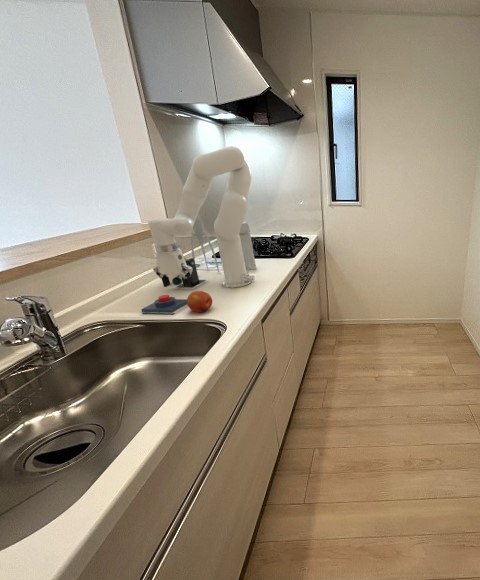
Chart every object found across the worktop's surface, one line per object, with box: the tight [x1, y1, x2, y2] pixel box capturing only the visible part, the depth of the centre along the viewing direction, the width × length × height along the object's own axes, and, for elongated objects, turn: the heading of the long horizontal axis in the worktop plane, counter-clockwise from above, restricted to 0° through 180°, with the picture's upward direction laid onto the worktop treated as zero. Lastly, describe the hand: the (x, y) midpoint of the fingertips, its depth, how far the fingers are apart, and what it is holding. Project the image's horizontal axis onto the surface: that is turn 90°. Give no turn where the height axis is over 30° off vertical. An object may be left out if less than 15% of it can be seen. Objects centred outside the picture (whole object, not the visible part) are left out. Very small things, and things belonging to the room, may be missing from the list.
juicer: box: [190, 215, 220, 273], centre depth 157 cm, size 10×9×30 cm
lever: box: [171, 258, 189, 286], centre depth 139 cm, size 13×4×4 cm
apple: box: [186, 290, 213, 313], centre depth 118 cm, size 8×8×8 cm
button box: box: [140, 296, 187, 316], centre depth 121 cm, size 12×10×4 cm
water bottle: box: [239, 221, 257, 271], centre depth 165 cm, size 9×8×25 cm
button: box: [157, 294, 171, 302], centre depth 120 cm, size 4×4×2 cm
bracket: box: [176, 257, 207, 289], centre depth 144 cm, size 10×8×13 cm
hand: (177, 286), depth 137 cm, fingers open, 9 cm apart
